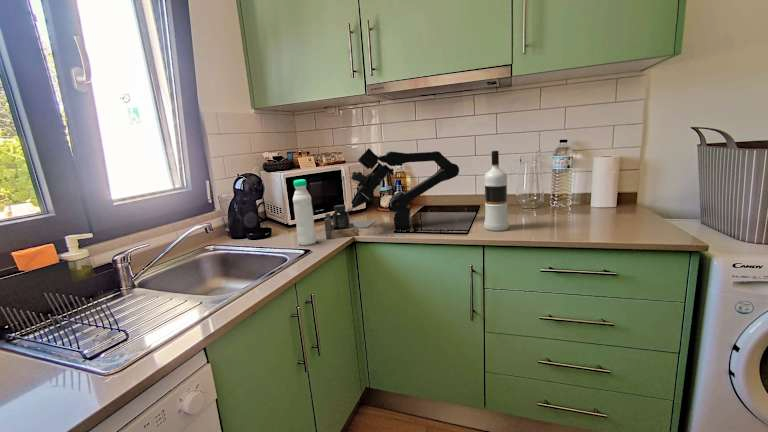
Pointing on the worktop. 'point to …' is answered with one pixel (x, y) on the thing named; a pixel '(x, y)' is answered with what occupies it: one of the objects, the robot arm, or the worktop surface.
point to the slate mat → (362, 224)
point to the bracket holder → (338, 233)
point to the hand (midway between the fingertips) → (352, 205)
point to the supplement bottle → (340, 218)
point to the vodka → (496, 197)
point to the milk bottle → (303, 214)
